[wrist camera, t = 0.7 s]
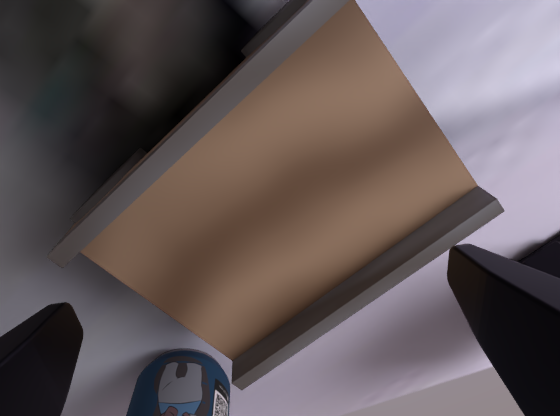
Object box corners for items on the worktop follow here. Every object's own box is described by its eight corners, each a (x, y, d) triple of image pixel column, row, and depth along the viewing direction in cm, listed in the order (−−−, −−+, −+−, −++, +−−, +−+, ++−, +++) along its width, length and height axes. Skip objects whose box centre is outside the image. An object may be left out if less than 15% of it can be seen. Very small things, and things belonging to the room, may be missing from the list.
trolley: (443, 158, 23) (517, 208, 17) (241, 310, 27) (238, 397, 21) (316, -27, 18) (353, -53, 12) (93, 192, 22) (32, 259, 16)
